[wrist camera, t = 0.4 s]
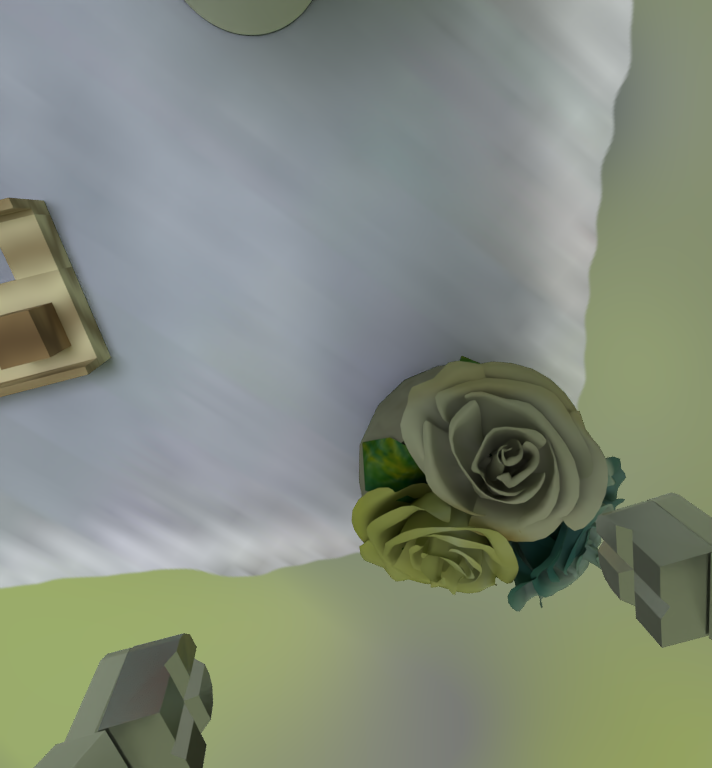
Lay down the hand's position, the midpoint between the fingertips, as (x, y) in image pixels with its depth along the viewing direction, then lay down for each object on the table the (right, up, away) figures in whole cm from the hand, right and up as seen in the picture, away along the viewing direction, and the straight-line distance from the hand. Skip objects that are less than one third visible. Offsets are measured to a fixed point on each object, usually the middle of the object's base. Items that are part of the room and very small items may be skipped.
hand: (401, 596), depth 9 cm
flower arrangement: (+9, -1, +49) cm, 50 cm away
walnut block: (-31, +9, +37) cm, 50 cm away
